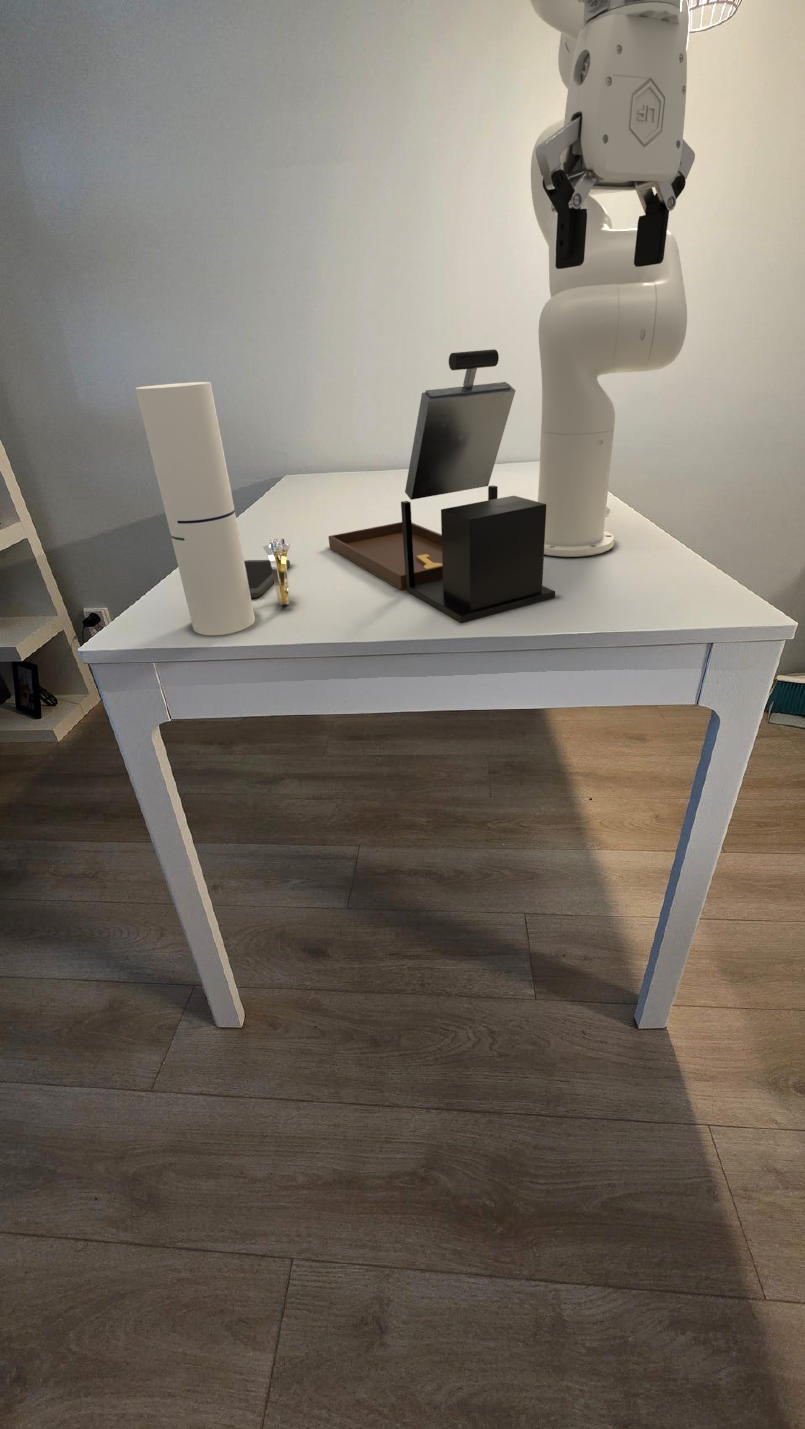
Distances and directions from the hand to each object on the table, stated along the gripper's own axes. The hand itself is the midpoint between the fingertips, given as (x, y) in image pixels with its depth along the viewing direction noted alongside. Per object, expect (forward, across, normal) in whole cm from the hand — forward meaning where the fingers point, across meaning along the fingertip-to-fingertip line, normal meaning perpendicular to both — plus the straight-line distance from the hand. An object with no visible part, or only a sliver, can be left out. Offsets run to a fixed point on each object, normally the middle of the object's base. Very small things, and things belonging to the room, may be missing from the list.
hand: (609, 266), depth 60 cm
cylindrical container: (+32, -39, +17) cm, 54 cm away
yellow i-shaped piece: (+32, -9, +21) cm, 39 cm away
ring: (+32, -31, +19) cm, 49 cm away
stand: (+32, -10, +8) cm, 35 cm away
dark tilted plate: (+14, -10, +10) cm, 20 cm away
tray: (+32, -10, +27) cm, 43 cm away
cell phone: (+32, -32, +31) cm, 55 cm away
